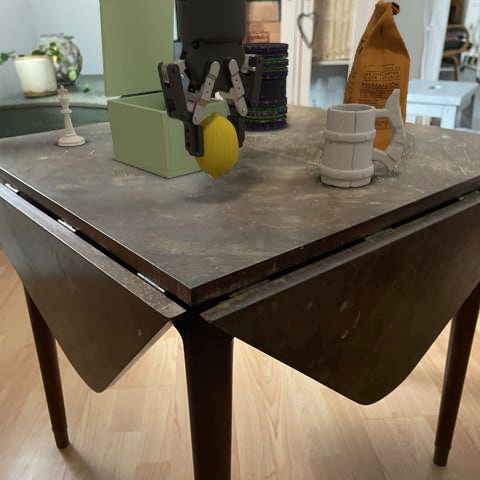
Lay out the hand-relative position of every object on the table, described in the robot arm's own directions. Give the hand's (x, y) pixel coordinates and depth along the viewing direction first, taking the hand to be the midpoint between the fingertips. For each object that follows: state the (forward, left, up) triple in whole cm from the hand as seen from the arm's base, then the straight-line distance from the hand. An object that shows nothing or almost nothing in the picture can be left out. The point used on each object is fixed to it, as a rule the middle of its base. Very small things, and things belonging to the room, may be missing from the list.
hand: (215, 150), depth 66 cm
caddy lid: (+8, +28, +11) cm, 31 cm away
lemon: (0, 0, -4) cm, 4 cm away
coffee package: (+35, +3, -7) cm, 36 cm away
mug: (+21, -6, -7) cm, 23 cm away
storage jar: (+37, +31, -7) cm, 49 cm away
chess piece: (+2, +46, -7) cm, 46 cm away
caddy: (+8, +22, -7) cm, 24 cm away
